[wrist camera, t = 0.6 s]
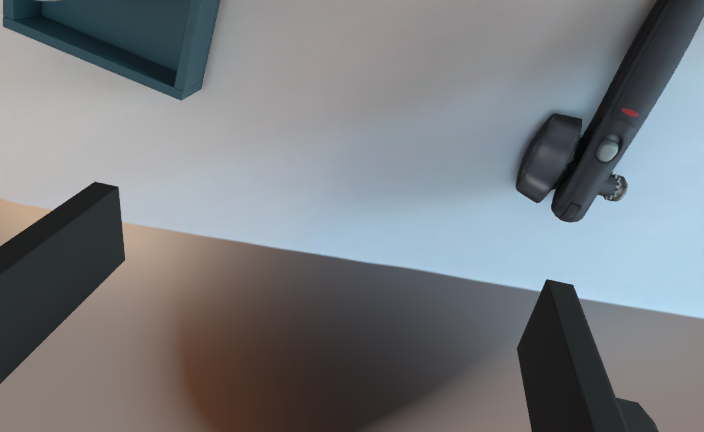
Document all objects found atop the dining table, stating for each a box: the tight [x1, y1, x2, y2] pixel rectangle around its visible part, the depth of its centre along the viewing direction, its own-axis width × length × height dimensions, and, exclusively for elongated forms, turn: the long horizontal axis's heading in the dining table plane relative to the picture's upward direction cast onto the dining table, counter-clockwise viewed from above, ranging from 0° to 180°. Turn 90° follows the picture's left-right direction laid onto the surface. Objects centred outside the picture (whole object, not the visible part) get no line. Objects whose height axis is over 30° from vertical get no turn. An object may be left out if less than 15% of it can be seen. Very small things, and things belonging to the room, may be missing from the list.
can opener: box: [516, 0, 704, 222], centre depth 35 cm, size 18×7×6 cm, turn 159°
